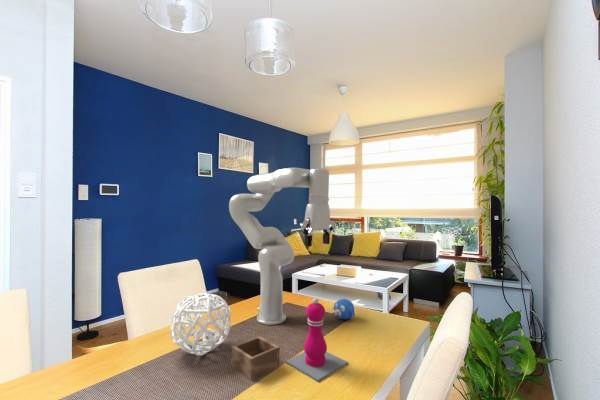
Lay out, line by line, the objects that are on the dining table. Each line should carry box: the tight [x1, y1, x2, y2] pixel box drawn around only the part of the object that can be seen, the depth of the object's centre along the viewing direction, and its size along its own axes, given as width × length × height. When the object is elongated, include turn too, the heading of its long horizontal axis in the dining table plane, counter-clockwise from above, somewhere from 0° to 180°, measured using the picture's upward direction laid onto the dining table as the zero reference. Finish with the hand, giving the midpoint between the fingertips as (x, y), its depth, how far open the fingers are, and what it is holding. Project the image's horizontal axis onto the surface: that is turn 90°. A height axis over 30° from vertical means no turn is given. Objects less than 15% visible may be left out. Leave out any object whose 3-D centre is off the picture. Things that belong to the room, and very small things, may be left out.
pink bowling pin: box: [303, 297, 328, 367], centre depth 96 cm, size 7×7×20 cm
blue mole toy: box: [331, 298, 356, 320], centre depth 132 cm, size 12×12×8 cm
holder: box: [230, 336, 281, 381], centre depth 95 cm, size 11×11×6 cm
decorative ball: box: [169, 292, 232, 357], centre depth 104 cm, size 20×20×19 cm
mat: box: [285, 351, 349, 382], centre depth 96 cm, size 14×14×1 cm
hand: (317, 244), depth 118 cm, fingers open, 9 cm apart
